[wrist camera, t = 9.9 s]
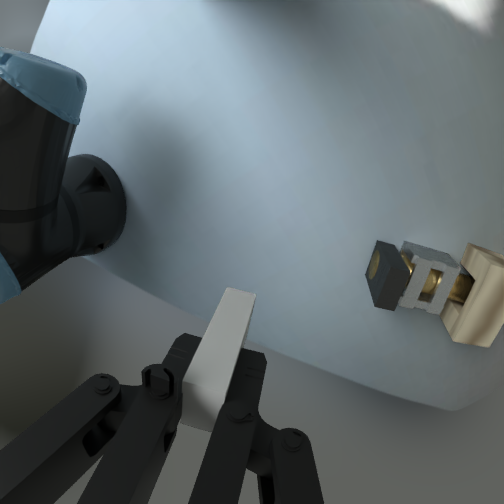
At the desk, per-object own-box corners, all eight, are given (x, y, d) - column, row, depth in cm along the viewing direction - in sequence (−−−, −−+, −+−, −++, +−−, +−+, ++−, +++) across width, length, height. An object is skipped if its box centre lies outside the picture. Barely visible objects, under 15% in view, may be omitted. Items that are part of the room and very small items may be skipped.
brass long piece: (365, 274, 38) (374, 306, 31) (377, 240, 36) (390, 266, 29) (472, 301, 37) (493, 332, 30) (485, 272, 35) (510, 299, 28)
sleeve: (387, 284, 39) (395, 305, 34) (404, 240, 36) (415, 256, 31) (430, 295, 38) (442, 315, 33) (448, 253, 36) (463, 270, 31)
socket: (437, 312, 39) (453, 341, 32) (468, 242, 34) (491, 264, 28) (472, 319, 38) (489, 347, 32) (502, 255, 34) (526, 276, 27)
